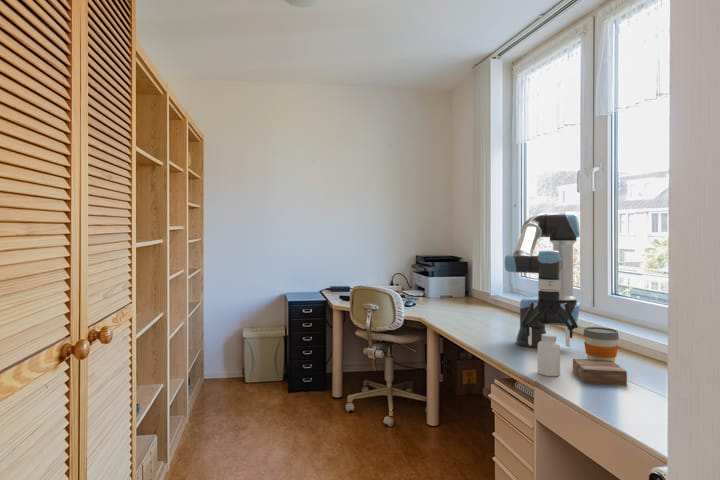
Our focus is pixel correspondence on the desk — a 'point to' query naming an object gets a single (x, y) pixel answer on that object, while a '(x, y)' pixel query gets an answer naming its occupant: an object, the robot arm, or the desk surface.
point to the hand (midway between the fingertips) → (548, 345)
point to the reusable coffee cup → (601, 343)
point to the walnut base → (599, 372)
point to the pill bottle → (548, 356)
